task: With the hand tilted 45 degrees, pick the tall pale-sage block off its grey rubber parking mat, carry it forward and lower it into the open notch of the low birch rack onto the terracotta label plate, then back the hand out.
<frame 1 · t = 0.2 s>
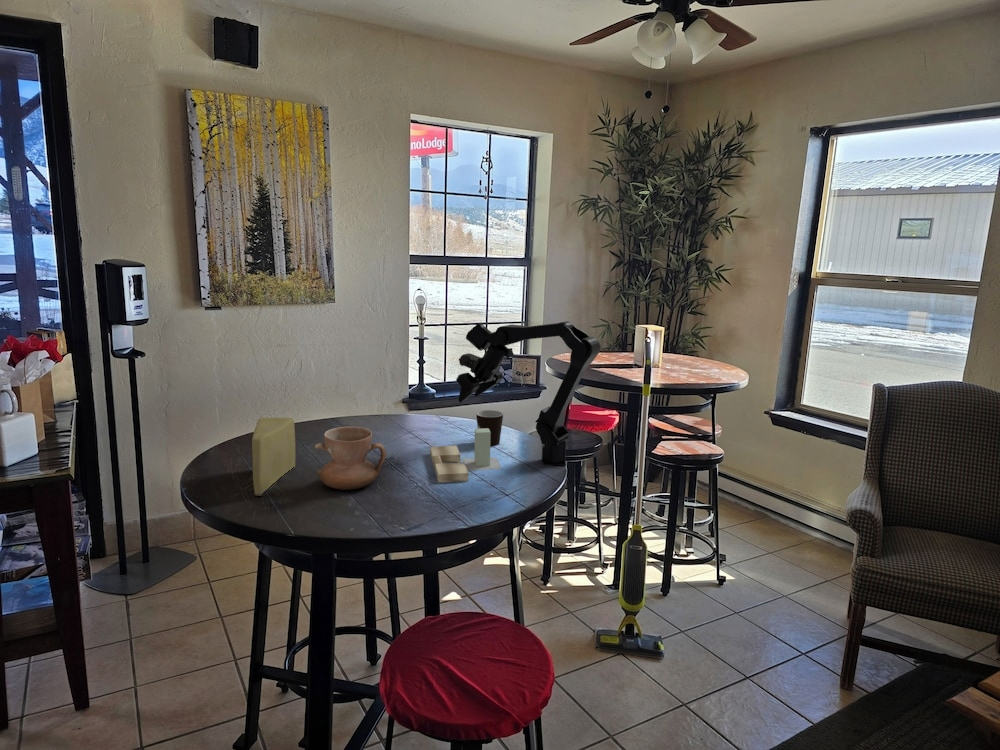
hand: (467, 398, 201), 15 cm above the table, tool tilted 35°, fingers open, 9 cm apart
coffee mug: (490, 443, 207), on the table
parking mat: (482, 464, 186), on the table
ceramic jug: (351, 485, 169), on the table
sage block: (482, 463, 186), resting on parking mat
cheese: (269, 482, 170), on the table
rack: (451, 467, 183), on the table
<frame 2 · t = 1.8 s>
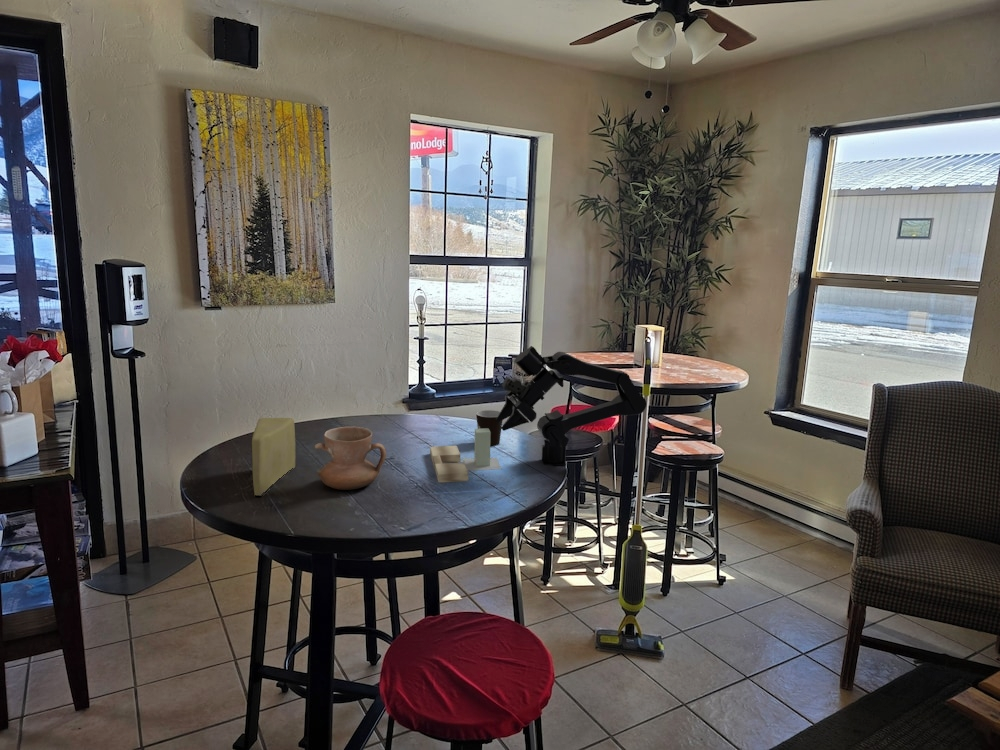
hand: (499, 425, 184), 12 cm above the table, tool tilted 45°, fingers open, 9 cm apart
nothing on the table moved.
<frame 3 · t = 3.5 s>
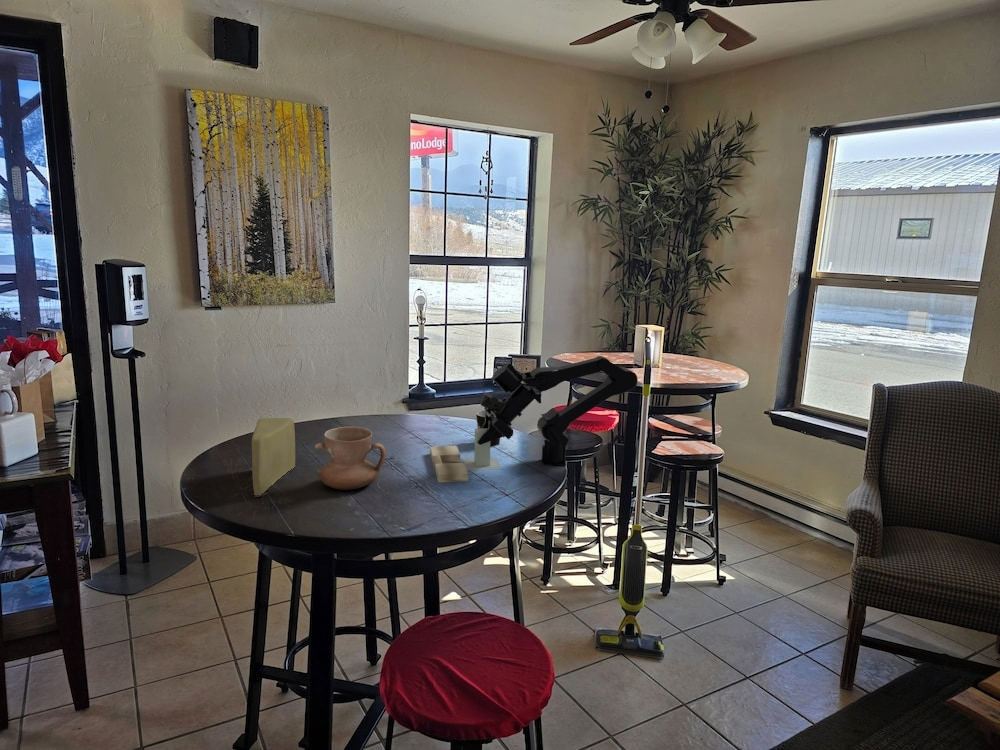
hand: (477, 441, 184), 7 cm above the table, tool tilted 45°, fingers closed on sage block, 4 cm apart
sage block: (482, 463, 186), resting on parking mat, touching gripper
everything else where it was.
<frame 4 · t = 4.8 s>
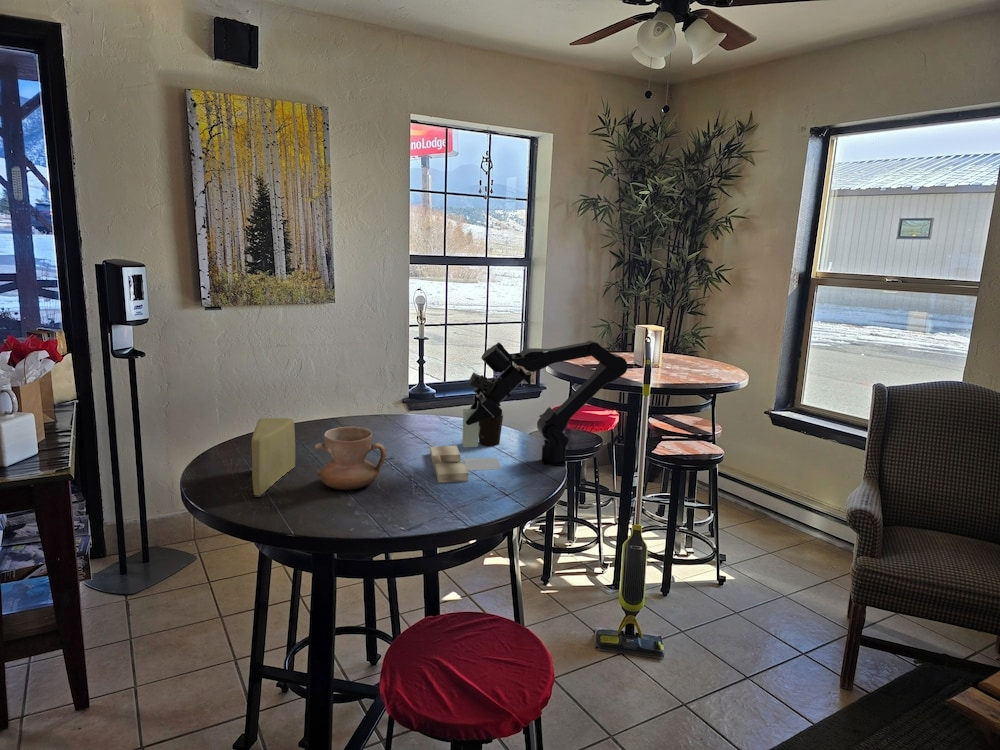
hand: (465, 421, 182), 13 cm above the table, tool tilted 45°, fingers closed on sage block, 4 cm apart
sage block: (470, 444, 183), point 6 cm above the table, touching gripper
everything else where it was.
when the fingers open (8 cm above the table, at t = 6.2 s): sage block drops 1 cm, resting on rack.
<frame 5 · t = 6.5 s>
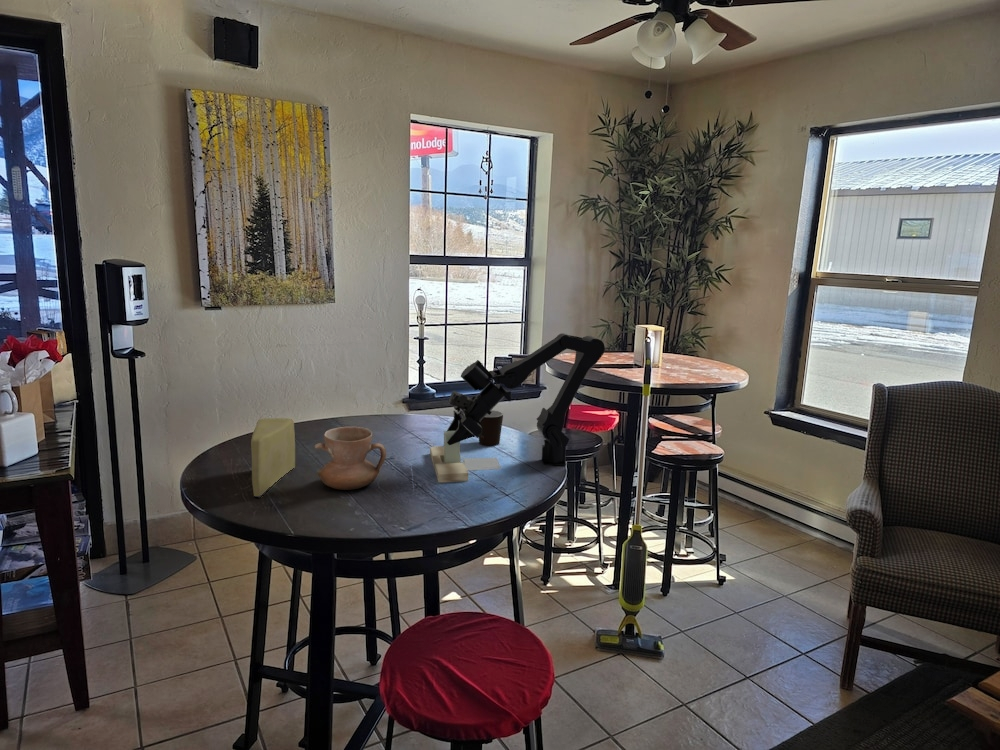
hand: (446, 440, 181), 8 cm above the table, tool tilted 45°, fingers open, 7 cm apart
sage block: (451, 466, 183), resting on rack
everything else where it was.
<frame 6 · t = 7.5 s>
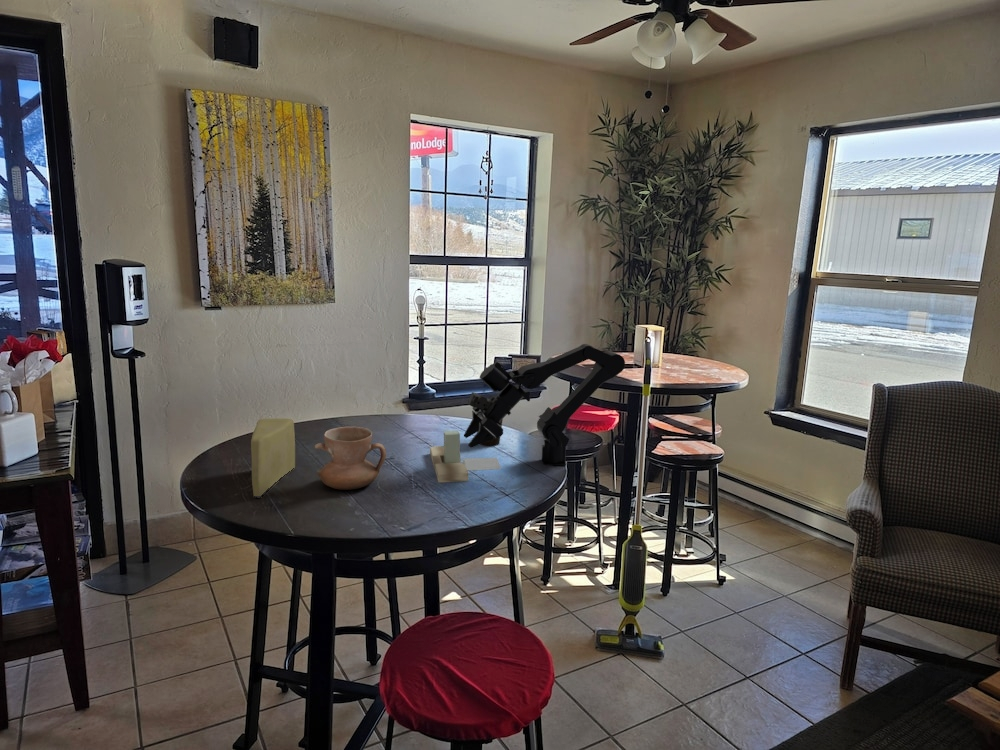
hand: (467, 441, 182), 7 cm above the table, tool tilted 45°, fingers open, 9 cm apart
nothing on the table moved.
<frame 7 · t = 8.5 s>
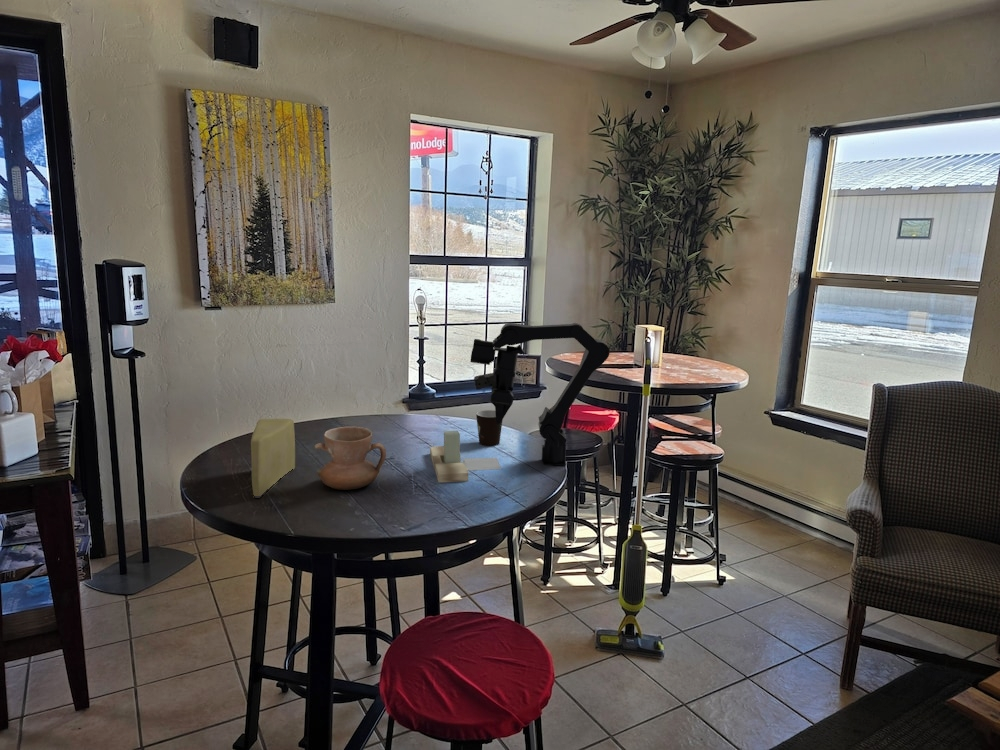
hand: (498, 419, 187), 13 cm above the table, tool pointing down, fingers open, 9 cm apart
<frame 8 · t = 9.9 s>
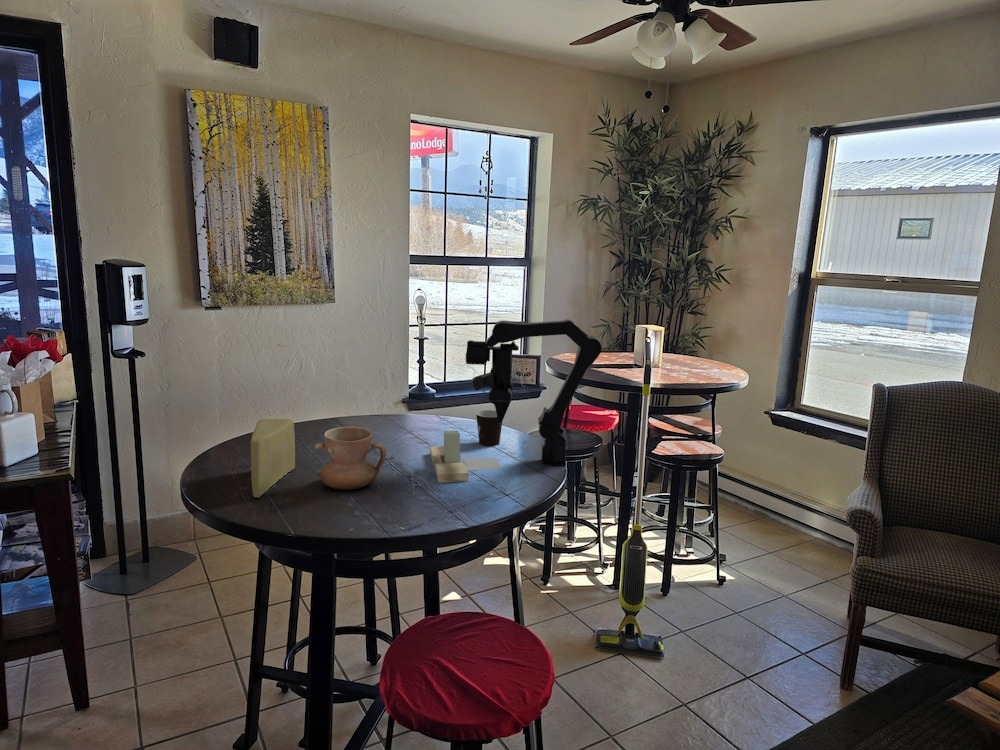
hand: (500, 417, 187), 13 cm above the table, tool pointing down, fingers open, 9 cm apart
at the end: sage block 0.0 cm off-centre on the rack, point 0.2 cm above the rack's base; sage block tilted 0°; the gripper is holding nothing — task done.
